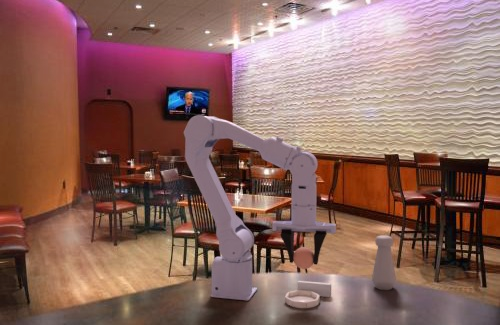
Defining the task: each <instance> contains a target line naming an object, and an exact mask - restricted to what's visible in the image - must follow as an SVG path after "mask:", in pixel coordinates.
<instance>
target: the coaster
mask: <svg viewBox="0 0 500 325" xmlns="http://www.w3.org/2000/svg"><path fill="white" fill-rule="evenodd" d="M320 297H321V296H320V295H318V294H316V293H314V292H312V291H305V290H297V289H295V290H291V291H287V292H286V294H285V296H284V301H285V303H286V304H287V306H289V305H290V306H289V307H293V308H297V309H311V308H315V307H317V306H318V305H319V303H320V300H321V298H320Z"/></svg>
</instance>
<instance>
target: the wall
mask: <svg viewBox="0 0 500 325" xmlns="http://www.w3.org/2000/svg"><path fill="white" fill-rule="evenodd" d="M296 283H297V284H296V286H297V288H296V290H305V291H312V292H314V293H316V294H318V295H320V297H325V298H331V297H332V283H331V282H330V283H329V282H320V281H319V282H317V281H309V280H308V281H306V280H297V282H296Z"/></svg>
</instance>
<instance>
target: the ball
mask: <svg viewBox="0 0 500 325" xmlns="http://www.w3.org/2000/svg"><path fill="white" fill-rule="evenodd" d="M293 263H294V265H295V266H296V268H299V269H301V270H307V269H310V268H311V267H312V266H313V265H314V251H313V250H312V249H310V248H309V247H307V246H306V247H305V246H302V247H298V248H297V249H295V250H294V255H293Z"/></svg>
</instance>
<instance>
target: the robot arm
mask: <svg viewBox="0 0 500 325" xmlns="http://www.w3.org/2000/svg"><path fill="white" fill-rule="evenodd" d="M183 135H184V138H185V141H184V142H185V145H184V146H185V147H184V148H185V149H184V159H185V162H186V163H187V166H188V168H189V170H190V172H191V174H192V177H193V178H194V181H195V182H196V184H197V187H198V188H199V191H200V193H201V195H202V197H203V199H204V201H205V203H206V206H207V208H208V209H209V212H210V214H211V216H212V218H213V220H214V222H215V224H216V228H215V229H216V230H215V231H216V232H215V236H216V238H217V240H218V250H219V253H220V254H221V255H220V256H216V257H214V259H213V261H212V264H211V294H210V297H212V298H216V299H217V298H220V299H229V300H238V301H239V300H240V301H250V300H251V298H253V296H254V295H255V293H256V292H257V290H258V287H253V255H252V252H251V249H252V247H253V246H254V243H255V237H254V234H253V232H252V231H251V229H249V228H248V227H247V226H246V225H245V223H244V222H243V220H242V219H241V218H240V217H239V216H238V215H236V211H235V210H234V208H233V206H232V204H231V202H230V200H229V197H228V196H227V194H226V191H225V190H224V187H223V186H222V183H221V181H220V178H219V176H218V174H217V172H216V171H215V169H214V166H213V164H212V162H211V159H210V155H211V152H212V149H213V148H214V147H215V145H216V143H217V142H218V141H219V140H221V139H222V140H223V139H229V140H231V141H234V142H237V143H239V144H241V145H244V146H245V147H248V148H251V149H253V150H255V151H258V152H259V154H260V156H261V159H262V160H263V161H266V162H268V163H270V164H273V165H274V166H277V167H279V168H281V169H282V170H285V171H288V170H289V172H290V174H291V177H292V178H291V180H292V182H291V214H290V216H291V220H274V221H272V225H271V226H272V228H271V230H272V231H273V232H275V231H276V232H277V231H280V237H281V240H282V241H283V244H284V246H285V249H286V251H287V252H286V253H287V254H288V260H289V263H290V264H291V263H292V264H293V263H294V261H293V255H294V252H295V248H294V247H295V245H294V244H295V232H306V233H313V234H314V235H313V244H314V246H313V248H314V250H313V253H314V263H313V265H318V263H319V257H320V253H321V250H322V246H323V243H324V241H325V239H326V238H327V237H326V236H327V234H331V235H336V232H337V223H329V222H321V221H317V187H318V186H317V182H316V181H317V174H316V173H315V172H316V171H317V169H318V164H319V163H318V158H316V156H315V154H313V153H311V152H310V151H309V150H303V151H302V147H301V146H300V145H299V146H298V145H297V147H296V146H294V145H291V143H287V142H286V141H284V138H282V137H281V136H277V137H274V136H270V137H268V138H266V139H265V138H264V137H261V136H260V135H257V133H256V134H255V133H254V132H252V131H249V130H247V129H246V128H243V127H242V126H241V125H238V124H236V123H234V122H231V121H229V120H226V119H224V118H223V119H222V118H219V117H217V116H213V115H209V116H207V115H202V114H197V115H194V116H192V117H191V118H190V119H189V120H188V122H187V124H186V126H185V129H184V131H183Z"/></svg>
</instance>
